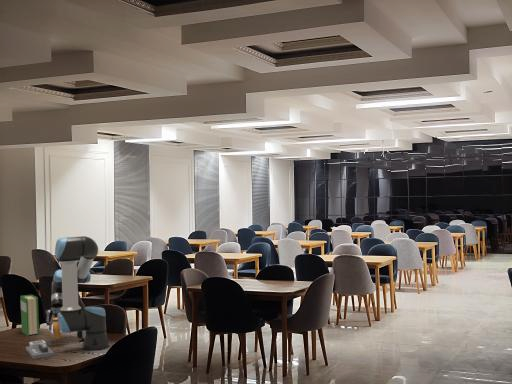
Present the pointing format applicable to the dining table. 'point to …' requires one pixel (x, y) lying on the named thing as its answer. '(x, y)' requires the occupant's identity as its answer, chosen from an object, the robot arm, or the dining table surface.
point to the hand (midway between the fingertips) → (56, 333)
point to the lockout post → (56, 329)
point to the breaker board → (39, 350)
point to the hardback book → (29, 315)
